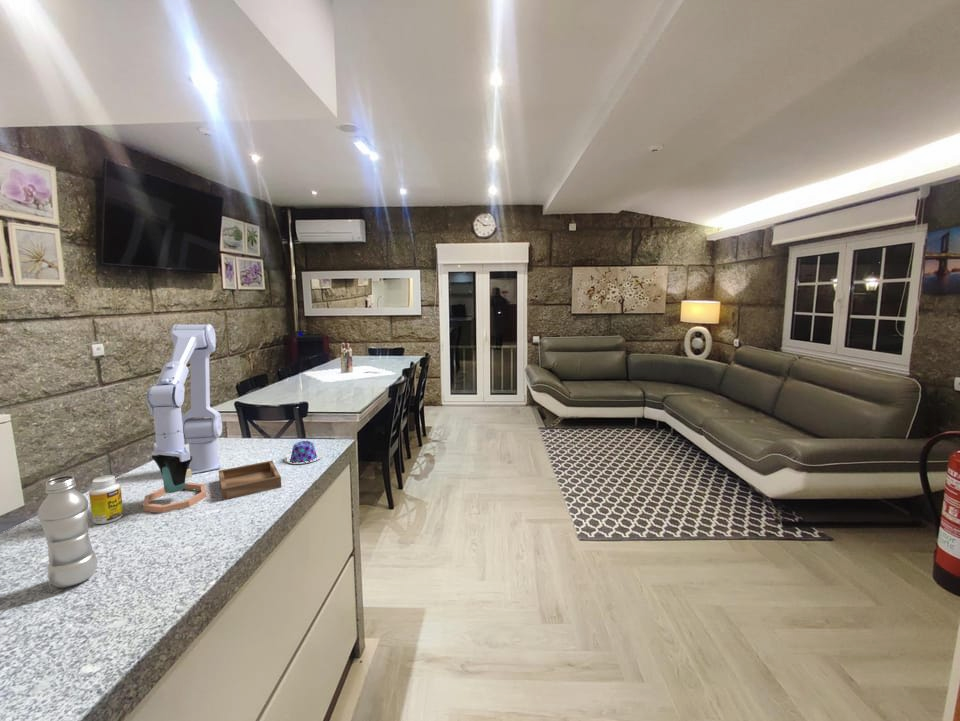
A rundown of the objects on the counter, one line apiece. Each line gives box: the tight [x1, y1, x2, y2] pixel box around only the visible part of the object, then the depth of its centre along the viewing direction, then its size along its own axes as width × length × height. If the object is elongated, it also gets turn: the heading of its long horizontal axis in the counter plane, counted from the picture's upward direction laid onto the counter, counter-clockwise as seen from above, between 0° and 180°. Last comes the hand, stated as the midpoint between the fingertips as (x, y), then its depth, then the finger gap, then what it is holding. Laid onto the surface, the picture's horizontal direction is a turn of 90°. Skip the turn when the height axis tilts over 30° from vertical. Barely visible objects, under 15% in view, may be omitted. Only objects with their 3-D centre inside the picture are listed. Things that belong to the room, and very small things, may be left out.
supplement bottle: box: [88, 474, 124, 525], centre depth 99 cm, size 6×6×10 cm
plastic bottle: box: [37, 474, 98, 589], centre depth 77 cm, size 6×7×20 cm
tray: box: [218, 460, 282, 501], centre depth 119 cm, size 14×14×3 cm
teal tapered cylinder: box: [161, 466, 193, 494], centre depth 110 cm, size 4×6×6 cm
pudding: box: [283, 440, 324, 465], centre depth 138 cm, size 12×12×5 cm
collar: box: [142, 481, 207, 514], centre depth 110 cm, size 13×13×2 cm
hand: (174, 481), depth 109 cm, fingers closed on teal tapered cylinder, 4 cm apart
